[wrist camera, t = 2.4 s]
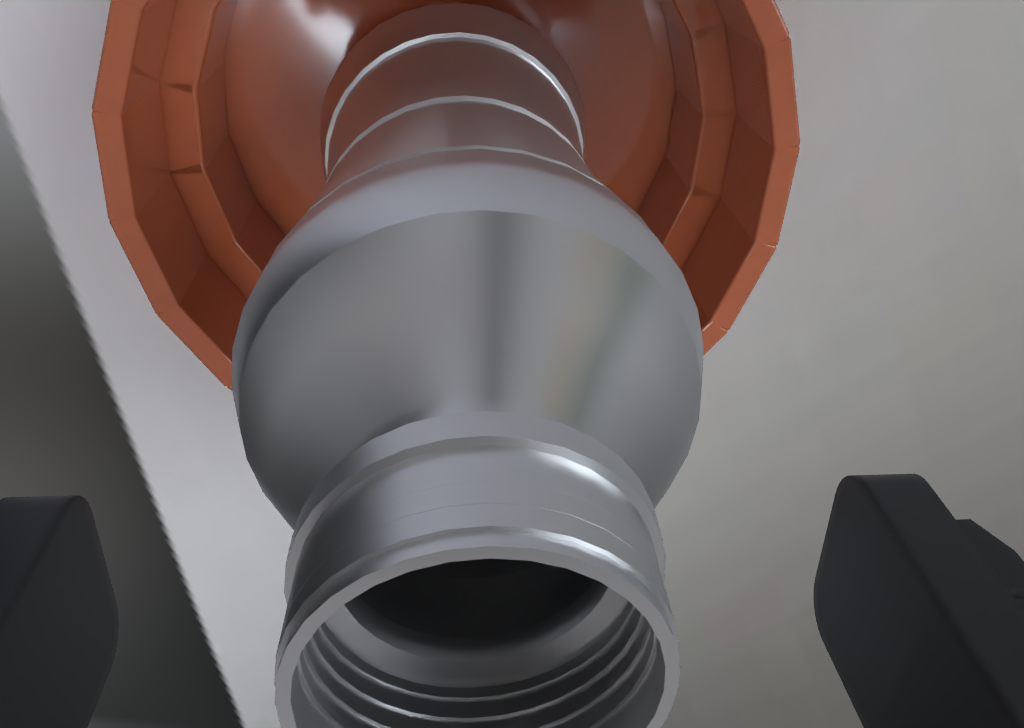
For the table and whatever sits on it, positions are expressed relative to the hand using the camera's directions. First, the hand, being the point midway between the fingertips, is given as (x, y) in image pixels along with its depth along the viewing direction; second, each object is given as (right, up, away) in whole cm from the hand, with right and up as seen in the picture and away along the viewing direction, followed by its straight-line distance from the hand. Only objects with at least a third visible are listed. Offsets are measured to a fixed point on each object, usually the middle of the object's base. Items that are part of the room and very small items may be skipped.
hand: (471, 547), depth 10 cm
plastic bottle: (-1, +9, +16) cm, 18 cm away
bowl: (-1, +9, +16) cm, 18 cm away
